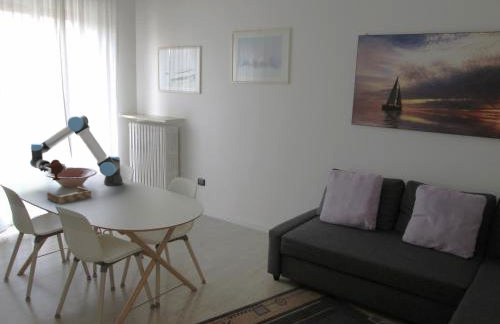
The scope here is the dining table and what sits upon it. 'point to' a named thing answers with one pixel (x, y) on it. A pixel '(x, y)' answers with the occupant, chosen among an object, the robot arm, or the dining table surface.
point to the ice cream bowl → (56, 168)
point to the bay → (70, 196)
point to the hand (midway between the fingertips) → (58, 169)
